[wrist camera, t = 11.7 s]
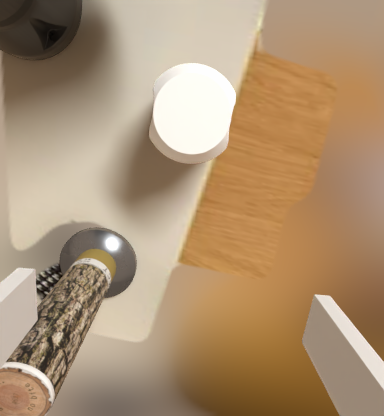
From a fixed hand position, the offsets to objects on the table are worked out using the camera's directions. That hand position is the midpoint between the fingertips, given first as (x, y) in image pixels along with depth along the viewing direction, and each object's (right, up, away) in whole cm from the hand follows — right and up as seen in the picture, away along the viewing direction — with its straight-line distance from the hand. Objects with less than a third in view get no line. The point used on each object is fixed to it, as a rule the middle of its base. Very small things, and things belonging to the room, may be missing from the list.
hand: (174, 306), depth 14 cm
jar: (+1, +19, +31) cm, 36 cm away
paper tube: (-15, -5, +37) cm, 40 cm away
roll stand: (-15, -5, +37) cm, 41 cm away
